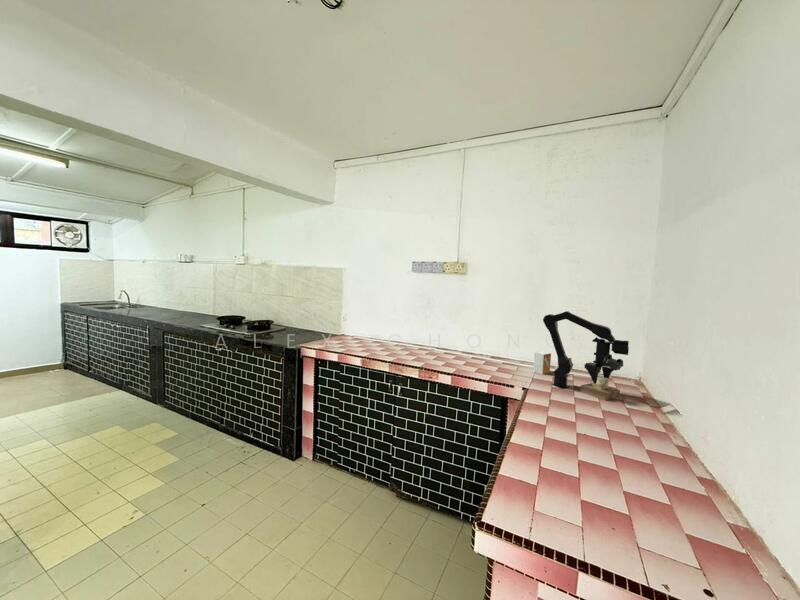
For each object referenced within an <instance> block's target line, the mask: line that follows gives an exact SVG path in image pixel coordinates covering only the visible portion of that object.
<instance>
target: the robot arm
mask: <svg viewBox="0 0 800 600" xmlns="http://www.w3.org/2000/svg"><path fill="white" fill-rule="evenodd" d="M563 320H567V321H569V322H571V323H573V324H575V325H578V326H579V327H582V328H584V329H586V330H588V331H589V332H591V333H592V334H594V335H595V336H596V337H595V338H594V339H592V340H591V341H592V342H593V343H596V345H595V346H596V347H595V352H594V353H593V356H595V360H593V361H592V362H586V363H585V364H584V369H586V371H587V373H588V374H589V376H590V378H591V380H592V381H593V383H595V384H596V382H597V377H598V376H599V374H601V373H602V377H604V378H608V379H609V380H610V377H611V375H612V373H613V372H614V371H620V370H621V368H622V367H623V368H624V360H623V359H621V358H617V359H616V358H613V355H612V354H610V353H611V352H613V354H618V355H624V356H628V355H629V351H630V350H629V349H630V347H629V344H630V341H629V340H620V339H616V338H615V337H614V335H613V334H612V330H611V328H610V327H608V326H606V325H602V324H598V323H594V322H591V321H589V320H587V319H585V318H583V317H580V316H578V315H577V314H574V313H571V312H570V311H564V312H561V313H557V314H546V315H545V316H544V317H543V319H542V322H543V324H544V326H545V328H546V329H547V330H548V332H549V334H550V337H551V340H552V343H553V346H554V349H555V353H556V356H557V366H558V367H557V368H556V369H555V370H554V371H553V375H554V377H553V383H551V384H550V385H552V386H554V387H557V388H559V389H567V388H570V385H568V374H570V373H571V372H572V370H573V369H574V363H573V361H572V358H571V357H568V356H567V354H566V350H565V349H564V346H563V342H562V339H561V335H560V333H559V328H558V327H559V326H558V325H559V323H558V322H560V321H563ZM592 381H591V382H592Z"/></svg>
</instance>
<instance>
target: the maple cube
mask: <svg viewBox="0 0 800 600" xmlns="http://www.w3.org/2000/svg"><path fill="white" fill-rule="evenodd" d="M609 381H610V378H609V379H608V378H604V376H600V375H598V377H597V382H596V384H595V383H593V381H591V383H592V387H595V388H598V389H601V390H604V389H608V387H609V385H610V384H609Z"/></svg>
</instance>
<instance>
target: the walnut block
mask: <svg viewBox="0 0 800 600" xmlns="http://www.w3.org/2000/svg"><path fill="white" fill-rule="evenodd" d="M579 391H580V393H582V394H586V395H588V396H591V397H594V398H596V399H600V400H602V401H608V400H614V399H617V398H621V397H620V396H621V395H620V394H621V390H620V389H618V388H614V387H611V386H608V389H604V390H601V389H598V388H595V387H592V382H591V383H587V384H581V385H580V390H579Z"/></svg>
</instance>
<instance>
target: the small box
mask: <svg viewBox="0 0 800 600" xmlns="http://www.w3.org/2000/svg"><path fill="white" fill-rule="evenodd" d="M533 354H534V355H533V356H534V357H533V369H532V370H533V372H535V373H538V374H541V375H545V374H549V373H551V362H552V361H551V358H552V353H551V352H547V351H542V350H541V351H536V352H534V353H533Z"/></svg>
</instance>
